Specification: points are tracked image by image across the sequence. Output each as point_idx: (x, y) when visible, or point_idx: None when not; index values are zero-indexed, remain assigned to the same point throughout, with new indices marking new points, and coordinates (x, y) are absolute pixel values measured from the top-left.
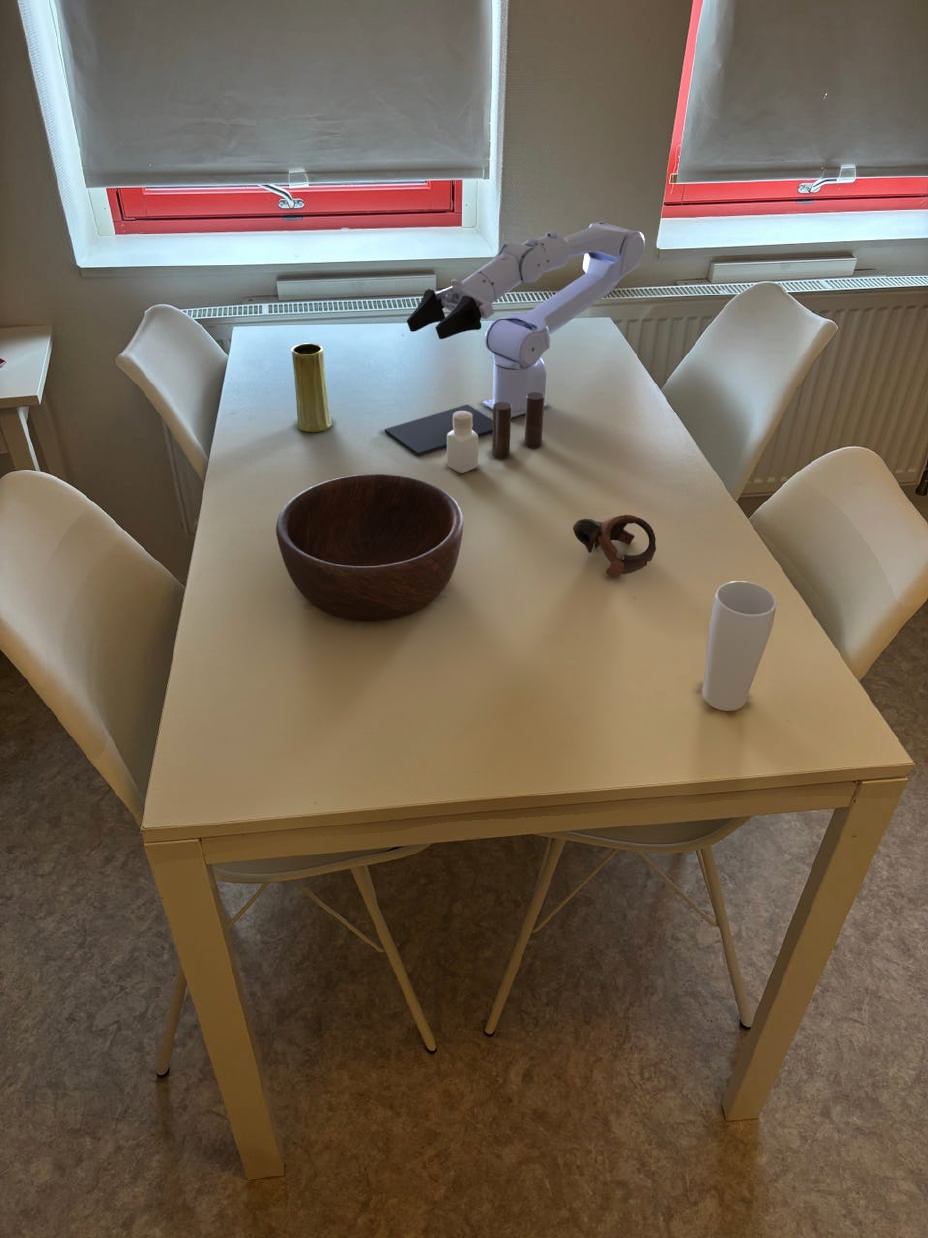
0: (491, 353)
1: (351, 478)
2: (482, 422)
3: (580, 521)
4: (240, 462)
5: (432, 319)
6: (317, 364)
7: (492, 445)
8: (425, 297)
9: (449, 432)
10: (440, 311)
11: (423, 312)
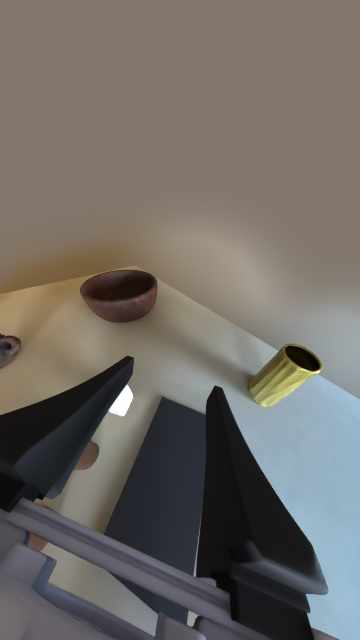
0: None
1: (143, 293)
2: (129, 544)
3: (10, 337)
4: (238, 334)
5: (207, 479)
6: (278, 361)
7: (94, 445)
8: (261, 490)
9: (125, 386)
10: (209, 549)
11: (217, 437)
